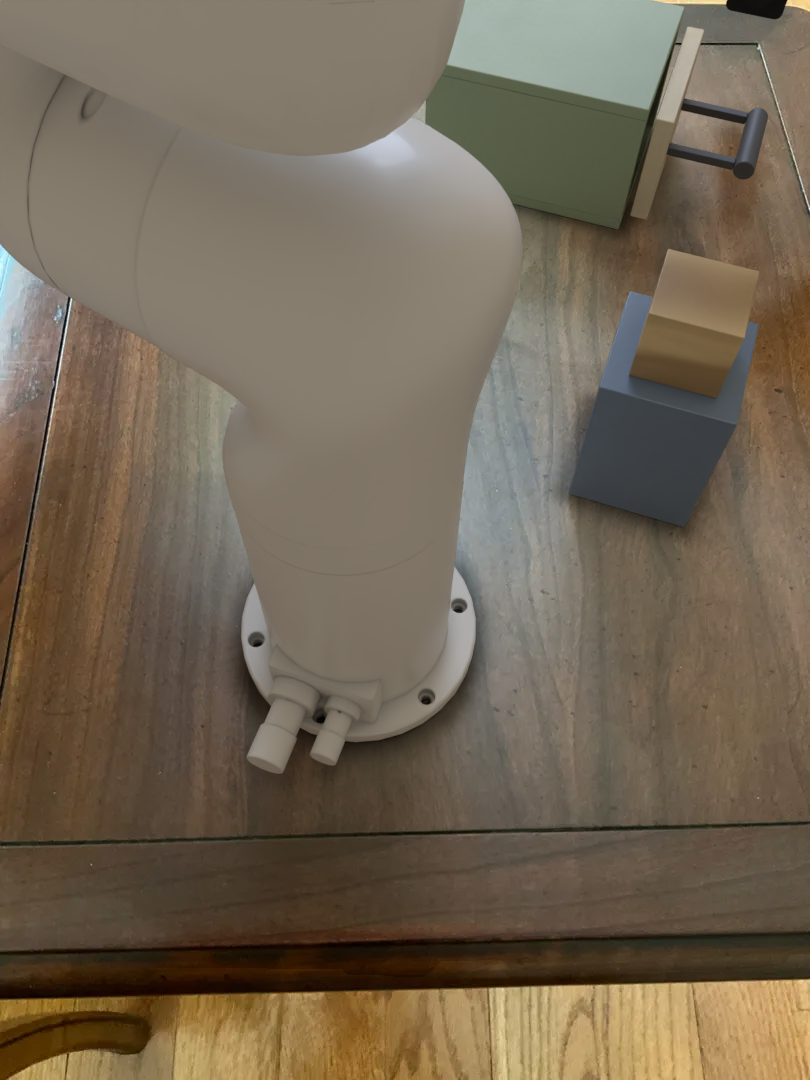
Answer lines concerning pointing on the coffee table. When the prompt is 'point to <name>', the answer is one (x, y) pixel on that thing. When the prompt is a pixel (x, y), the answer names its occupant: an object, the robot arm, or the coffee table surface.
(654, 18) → the cabinet
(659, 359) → the block
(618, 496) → the stand
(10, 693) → the coffee table surface
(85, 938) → the coffee table surface
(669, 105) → the drawer
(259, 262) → the robot arm
